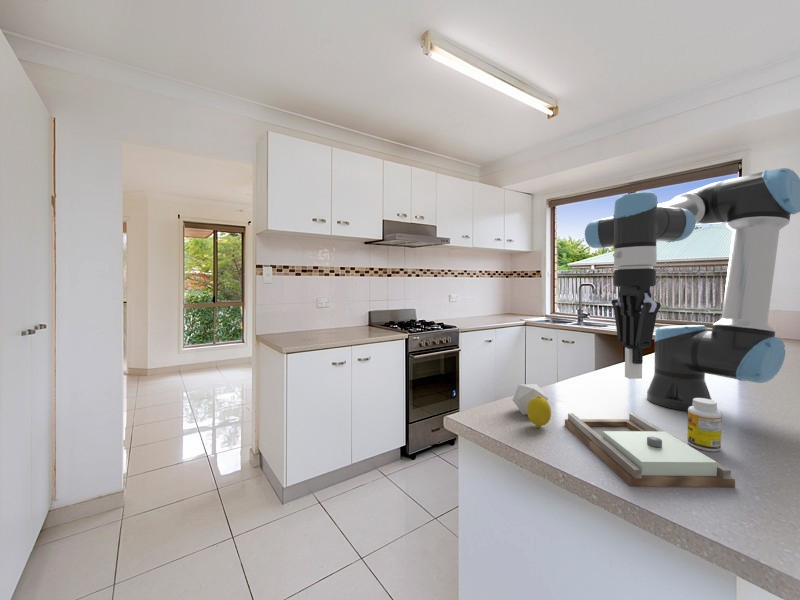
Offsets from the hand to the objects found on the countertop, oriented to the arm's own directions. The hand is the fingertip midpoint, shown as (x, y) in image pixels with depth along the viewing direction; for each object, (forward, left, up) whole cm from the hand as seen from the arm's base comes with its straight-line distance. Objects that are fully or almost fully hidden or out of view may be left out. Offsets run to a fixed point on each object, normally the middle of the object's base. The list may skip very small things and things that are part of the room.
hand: (633, 377), depth 76 cm
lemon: (+16, -11, -16) cm, 25 cm away
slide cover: (0, +7, -14) cm, 16 cm away
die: (+15, -21, -16) cm, 30 cm away
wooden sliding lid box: (0, +1, -16) cm, 16 cm away
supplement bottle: (-16, -1, -16) cm, 22 cm away
